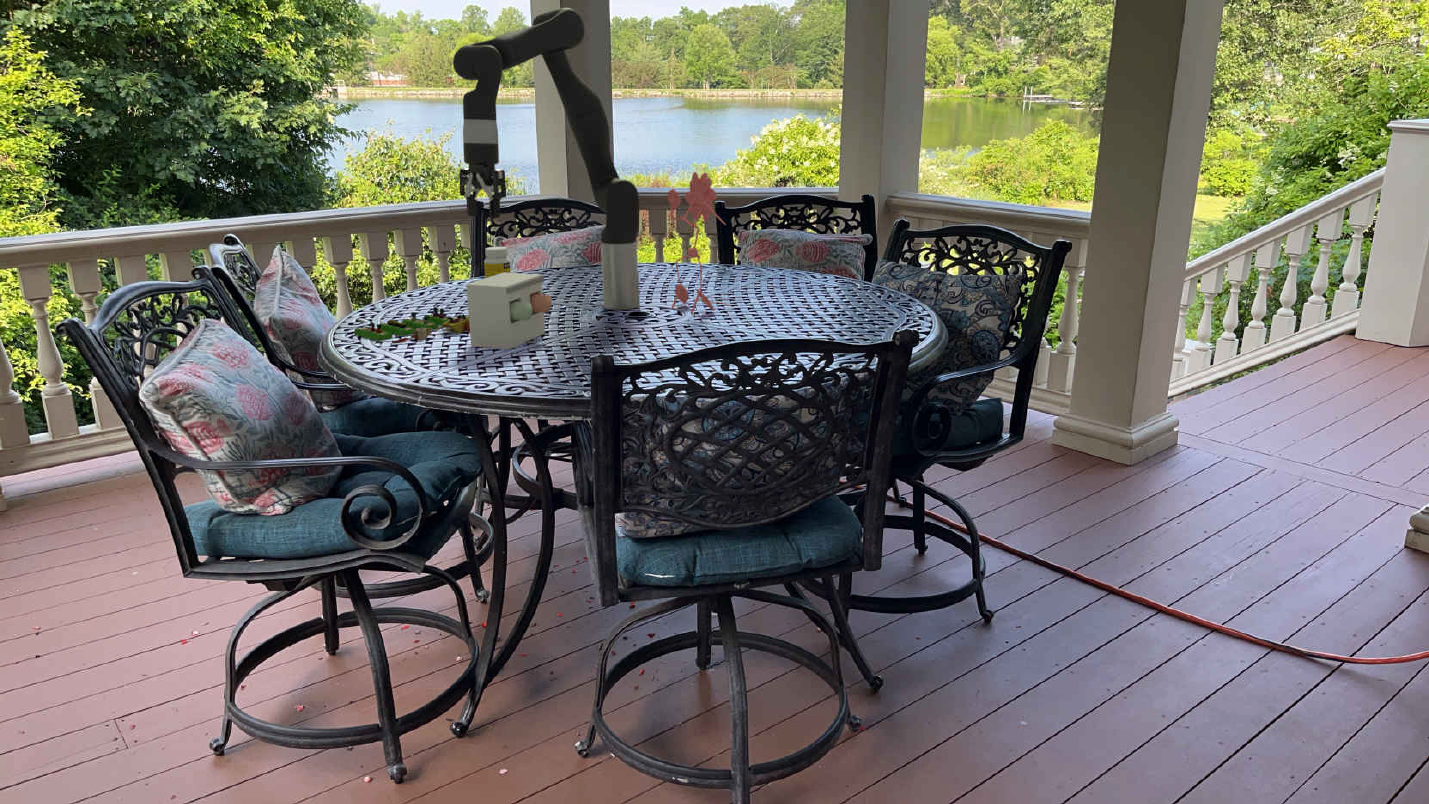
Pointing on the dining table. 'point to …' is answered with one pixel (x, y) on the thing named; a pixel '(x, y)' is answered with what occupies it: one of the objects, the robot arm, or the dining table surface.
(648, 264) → the dining table surface
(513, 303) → the green button
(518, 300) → the console
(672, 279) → the dining table surface
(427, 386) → the dining table surface
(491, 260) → the supplement bottle
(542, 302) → the terracotta button
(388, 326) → the toy garden set
